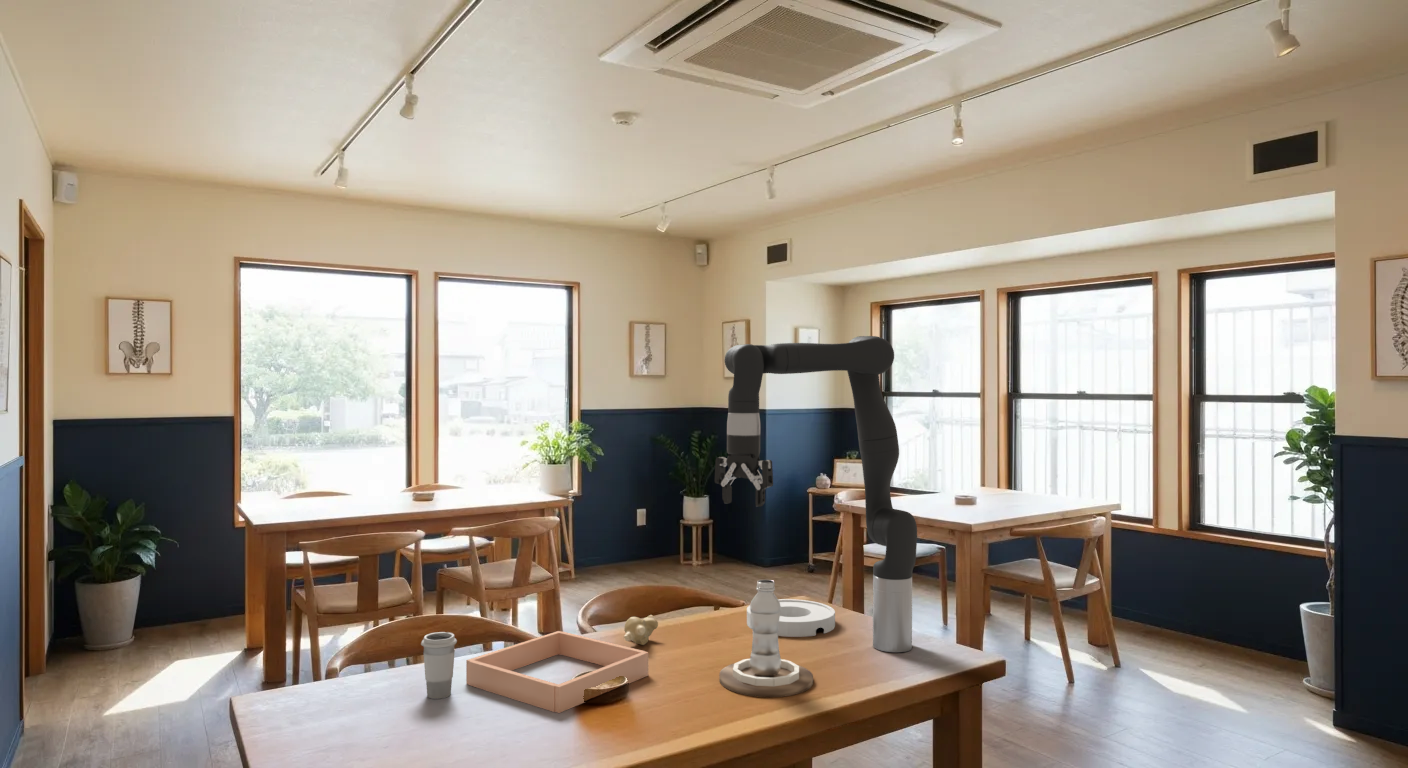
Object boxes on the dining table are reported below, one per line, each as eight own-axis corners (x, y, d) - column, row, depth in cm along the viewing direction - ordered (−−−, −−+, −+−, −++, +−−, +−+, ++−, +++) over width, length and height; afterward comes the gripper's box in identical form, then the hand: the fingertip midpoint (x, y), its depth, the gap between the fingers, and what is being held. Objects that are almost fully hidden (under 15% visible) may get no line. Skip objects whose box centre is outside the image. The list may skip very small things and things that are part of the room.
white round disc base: (741, 635, 225) (741, 619, 225) (751, 611, 248) (751, 597, 248) (834, 640, 222) (834, 624, 222) (835, 615, 245) (835, 601, 244)
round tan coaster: (752, 659, 205) (752, 654, 205) (829, 677, 193) (829, 671, 193) (700, 683, 189) (700, 678, 189) (782, 704, 177) (782, 698, 177)
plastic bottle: (780, 680, 187) (780, 585, 187) (747, 678, 188) (748, 584, 188) (782, 670, 194) (782, 578, 194) (750, 669, 195) (751, 577, 195)
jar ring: (756, 660, 201) (756, 653, 201) (810, 672, 193) (810, 665, 193) (720, 677, 190) (720, 670, 190) (777, 690, 181) (777, 683, 181)
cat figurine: (657, 613, 223) (645, 611, 211) (663, 642, 220) (651, 641, 209) (626, 621, 223) (612, 620, 212) (632, 650, 221) (618, 650, 210)
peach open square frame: (559, 651, 210) (559, 630, 210) (648, 675, 194) (649, 652, 194) (465, 684, 188) (465, 660, 188) (558, 713, 172) (558, 687, 172)
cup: (463, 691, 184) (463, 633, 184) (444, 702, 178) (444, 642, 177) (434, 687, 186) (434, 630, 186) (414, 698, 180) (414, 638, 180)
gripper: (779, 433, 200) (779, 505, 200) (726, 430, 209) (726, 500, 209) (761, 435, 194) (761, 509, 194) (708, 432, 203) (707, 503, 203)
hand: (743, 504), depth 202 cm, fingers open, 8 cm apart
